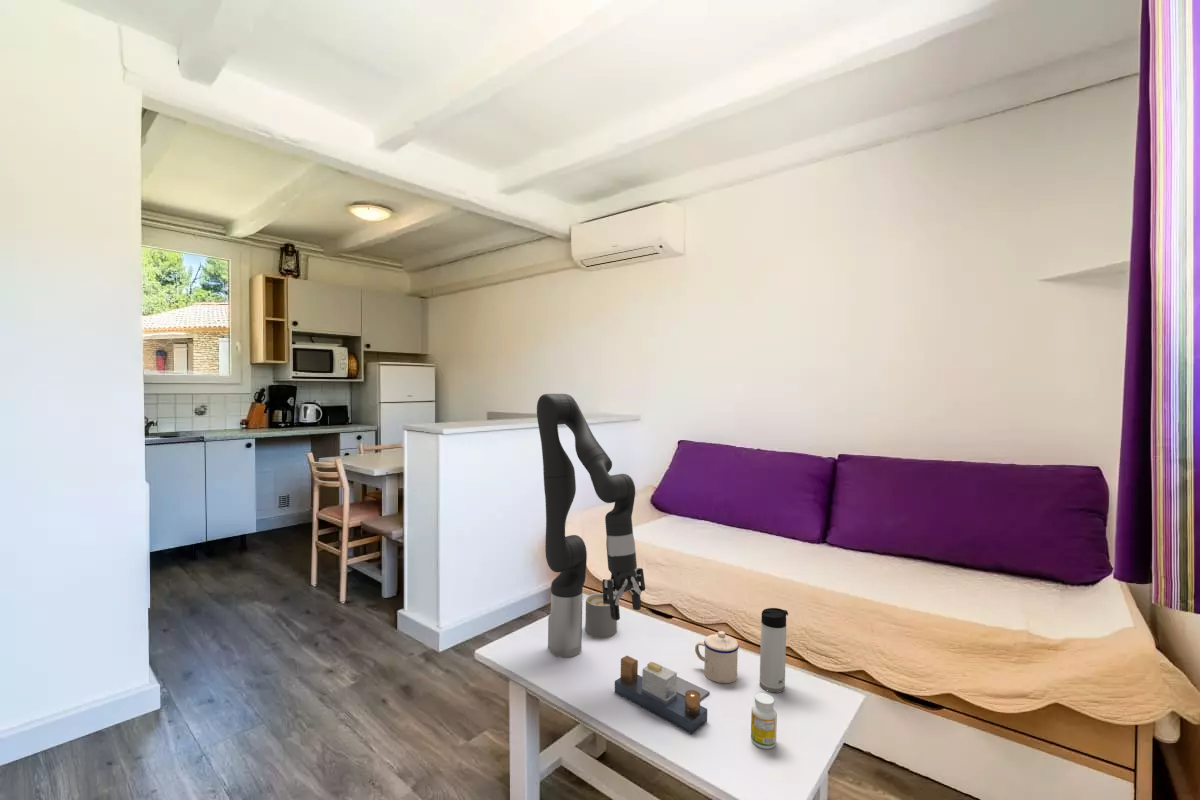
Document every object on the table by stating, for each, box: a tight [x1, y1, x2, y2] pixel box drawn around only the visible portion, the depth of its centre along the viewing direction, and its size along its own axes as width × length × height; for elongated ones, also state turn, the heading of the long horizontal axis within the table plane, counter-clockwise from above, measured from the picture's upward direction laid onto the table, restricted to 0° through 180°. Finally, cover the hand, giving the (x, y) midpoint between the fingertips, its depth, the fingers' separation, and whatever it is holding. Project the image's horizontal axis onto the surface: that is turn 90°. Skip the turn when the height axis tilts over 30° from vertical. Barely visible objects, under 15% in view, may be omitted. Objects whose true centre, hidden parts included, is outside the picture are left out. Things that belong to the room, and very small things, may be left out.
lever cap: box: [641, 661, 678, 701], centre depth 127 cm, size 7×4×6 cm, turn 47°
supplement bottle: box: [750, 692, 778, 750], centre depth 116 cm, size 5×5×10 cm
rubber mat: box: [676, 676, 710, 702], centre depth 135 cm, size 12×6×1 cm, turn 47°
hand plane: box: [614, 655, 708, 735], centre depth 128 cm, size 23×6×8 cm, turn 47°
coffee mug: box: [584, 592, 618, 639], centre depth 168 cm, size 13×10×10 cm
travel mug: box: [759, 607, 789, 693], centre depth 137 cm, size 6×7×20 cm
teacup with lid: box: [694, 630, 740, 684], centre depth 143 cm, size 12×9×12 cm
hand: (626, 614), depth 137 cm, fingers open, 8 cm apart
